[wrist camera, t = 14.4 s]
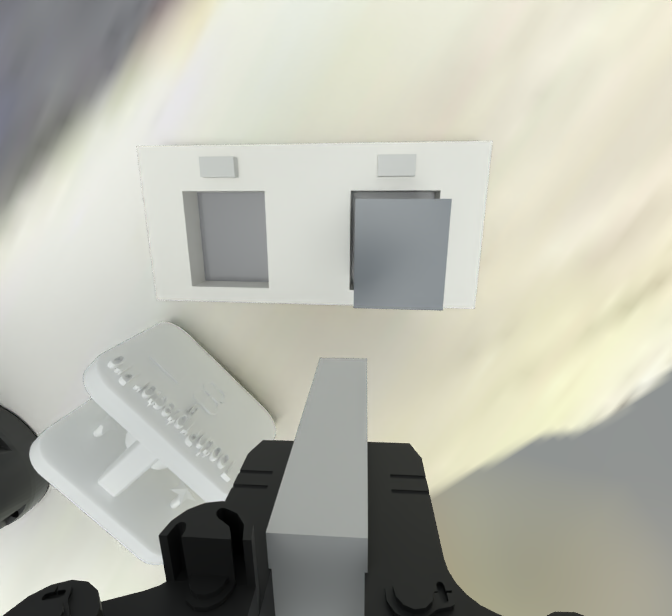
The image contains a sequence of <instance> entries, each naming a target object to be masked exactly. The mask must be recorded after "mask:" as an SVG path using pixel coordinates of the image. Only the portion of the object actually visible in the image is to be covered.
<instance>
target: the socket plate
mask: <svg viewBox="0 0 672 616" xmlns="http://www.w3.org/2000/svg"><path fill="white" fill-rule="evenodd" d="M492 142H493V141H441V142H373V143H305V144H237V145H169V146H136V148H137V156H138V163H139V171H140V178H141V186H142V194H143V201H144V209H145V216H146V224H147V231H148V239H149V247H150V254H151V262H152V269H153V277H154V285H155V292H156V300H170V301H207V302H244V303H282V304H319V305H354V244H355V199H452V203H451V215H450V227H449V239H448V251H447V264H446V276H445V288H444V300H443V308H467V309H475V302H476V292H477V283H478V274H479V264H480V255H481V245H482V236H483V227H484V217H485V208H486V198H487V189H488V180H489V170H490V161H491V151H492Z"/></svg>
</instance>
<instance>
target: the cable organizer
mask: <svg viewBox="0 0 672 616" xmlns="http://www.w3.org/2000/svg"><path fill="white" fill-rule="evenodd" d="M83 382H84V386H85V388H86V390H87V392H88V394H89V395H90V397H91V399H90V400H88V401H87V402H86V403H84V404H83V405H81V406H80V407H78V408H77V409H75V410H74V411H72V412H71V413H69V414H68V415H66V416H65V417H63V418H62V419H60V420H59V421H57V422H56V423H54V424H53V425H51V426H50V427H48V428H47V429H46V430H44V431H43V432H42V433H41V434H40V435H39V437H38V438H37V439H36V440H35V441H34V442H33V443H32V445H31V447H30V452H29V456H30V461H31V464H32V465H33V467H34V469H35V470H36V471H37V473H38V474H40V475H41V476H42V477H43V478H44V479H45V480H47V481H48V482H49V483H50V484H51V485H52V486H54V487H55V488H56V489H57V490H58V491H60V492H61V493H62V494H63V495H64V496H65V497H67V498H68V499H69V500H70V501H71V502H72V503H74V504H75V505H76V506H77V507H78V508H80V509H81V510H82V511H83V512H84V513H85V514H87V515H88V516H89V517H90V518H91V519H93V520H94V521H95V522H96V523H97V524H98V525H100V526H101V527H102V528H103V529H104V530H105V531H107V532H108V533H109V534H110V535H111V536H113V537H114V538H115V539H116V540H117V541H118V542H120V543H121V544H122V545H123V546H124V547H126V548H127V549H128V550H129V551H130V552H131V553H133V554H134V555H135V556H136V557H137V558H138V559H140V560H141V561H143V562H145V563H148V564H151V565H161V564H163V558H162V553H161V547H160V542H159V536H158V535H159V534H160V533H161V532H162V531H163V529H164V528H165V527H166V526H167V525H168V524H169V522H170V521H171V520H173V519H174V518H176V517H177V516H179V515H180V514H182V513H183V512H184V511H186V510H187V509H190V508H193V507H195V506H198V505H200V504H203V503H207V502H217V501H225V500H226V498H227V496H228V494H229V492H230V490H231V488H233V483H234V481H235V479H236V477H237V475H238V473H240V469H241V467H242V465H243V463H244V461H245V459H246V457H247V454H248V453H249V452H250V451H251V450H252V449H253V448H255V447H256V446H257V445H258V444H259V443H260V442H261V441H262V440H274V438H275V435H276V426H275V423H274V421H273V419H272V417H271V416H270V414H269V413H268V412H267V410H266V409H265V408H264V407H263V406H262V405H261V404H260V403H259V402H258V401H257V400H256V399H255V398H254V397H253V396H252V395H251V394H250V393H248V392H247V391H246V390H245V389H244V388H243V387H242V386H241V385H240V384H239V383H238V382H237V381H236V380H235V379H234V378H233V377H232V376H231V375H230V374H229V373H228V372H227V371H226V370H225V369H224V368H223V367H222V366H221V365H220V364H219V363H218V362H217V361H216V360H215V359H214V358H213V357H212V356H211V355H210V354H209V353H208V352H207V351H206V350H205V349H204V348H202V347H201V346H200V345H199V344H198V343H197V342H196V341H195V340H194V339H193V338H192V337H191V336H190V335H189V334H188V333H187V332H186V331H184V330H183V329H182V328H180V327H179V326H177V325H175V324H173V323H169V322H160V323H158V324H156V325H154V326H152V327H151V328H149V329H147V330H145V331H143V332H141V333H139V334H137V335H136V336H134V337H132V338H130V339H128V340H126V341H124V342H123V343H121V344H119V345H117V346H115V347H113V348H111V349H109V350H108V351H106V352H104V353H102V354H100V355H99V356H98V357H97V358H96V359H95V360H94V361H93V362H92V363H91V365H90V366H89V367H88V368H87V369H86V370H85V372H84V375H83Z"/></svg>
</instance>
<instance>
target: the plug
mask: <svg viewBox="0 0 672 616" xmlns="http://www.w3.org/2000/svg"><path fill="white" fill-rule="evenodd" d="M451 203H452V199H355V244H354V308H373V309H410V310H443V300H444V288H445V276H446V264H447V251H448V239H449V227H450V215H451Z"/></svg>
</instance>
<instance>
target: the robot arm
mask: <svg viewBox="0 0 672 616" xmlns="http://www.w3.org/2000/svg"><path fill="white" fill-rule="evenodd" d="M36 439H37V438H36V436H35V435H34V434H33V432H32V431H31V430H30V429H29V428H28V427H27V426H26V425H25V424H24V423H23V422H22V421H21V420H20V419H18V418H17V417H16V416H14V415H13V414H12V413H10V412H9V411H7V410H5V409H3V408H1V407H0V529H1V528H3V527H4V526H6V525H9V524H10V523H12V522H14V521H16V520H17V519H19V518H20V517H22V516H23V515H24V514H25V513H26V512H28V511H29V510H30V509H31V508H32V507H33V506H34V505H36V504H37V503H38V502H39V501H40V500H41V499H42V497H43V496H44V495H45V493H46V491H47V488H48V485H49V482H48V481H47V480H45V479H44V478H43V477H42V476H41V475H40V474H38V473H37V471H36V470H35V469H34V467H33V465H32V464H31V461H30V456H29V452H30V447H31V445H32V443H33V442H34V441H35V440H36ZM158 536H159V542H160V547H161V553H162V558H163V564H164V570H165V575H166V582H165V583H163V584H161V585H159V586H157V587H154V588H151V589H148V590H145V591H142V592H138V593H134V594H130V595H126V596H122V597H118V598H114V599H110V600H107V601H103V602H101V601H100V597H99V593H98V590H97V589H96V588H95V587H93V586H92V585H91V584H90V583H89V582H86V581H77V580H70V581H65V582H61V583H57V584H53V585H50V586H48V587H46V588H44V589H42V590H40V591H38V592H36V593H34V594H32V595H30V596H28V597H27V598H26V599H24V600H23V601H22V602H20V603H19V604H18V605H16V606H15V607H14V608H12V609H11V610H10V611H8V612H7V613H6V614H4V615H3V616H501V615H499V614H497V613H495V612H493V611H491V610H488V609H487V608H485V607H483V606H481V605H479V604H478V603H477V602H476V601H474V600H473V599H472V598H470V597H469V596H468V595H466V593H465V592H464V591H463V590H462V589H461V588H460V587H459V586H458V585H457V584H456V582H455V581H454V579H453V578H452V576H451V574H450V573H449V571H448V569H447V566H446V563H445V560H444V557H443V553H442V548H441V544H440V539H439V535H438V530H437V526H436V521H435V517H434V512H433V508H432V503H431V499H430V495H429V490H428V485H427V481H426V478H425V472H424V467H423V463H422V458H421V457H420V456H419V455H418V453H417V452H416V451H415V450H414V448H413V447H412V446H411V445H410V444H409V443H381V442H367V359H360V358H320V360H319V363H318V366H317V369H316V373H315V376H314V379H313V382H312V386H311V389H310V392H309V395H308V398H307V402H306V405H305V408H304V411H303V414H302V418H301V421H300V424H299V427H298V430H297V434H296V437H295V440H294V441H279V440H262V441H261V442H260V443H259V444H258V445H257V446H256V447H255V448H253V449H252V450H251V451H250V452H249V453H248V454H247V457H246V459H245V461H244V463H243V465H242V467H241V469H240V473H238V475H237V477H236V479H235V481H234V483H233V488H231V490H230V492H229V494H228V496H227V498H226V500H225V501H217V502H207V503H203V504H200V505H198V506H195V507H193V508H190V509H187V510H186V511H184V512H183V513H182V514H180V515H179V516H177V517H176V518H174V519H173V520H171V521H170V522H169V524H168V525H167V526H166V527H165V528H164V529H163V531H162V532H161V533H160V534H159V535H158ZM547 616H583V615H580V614H578V613H575V612H553V613H551V614H549V615H547Z"/></svg>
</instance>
